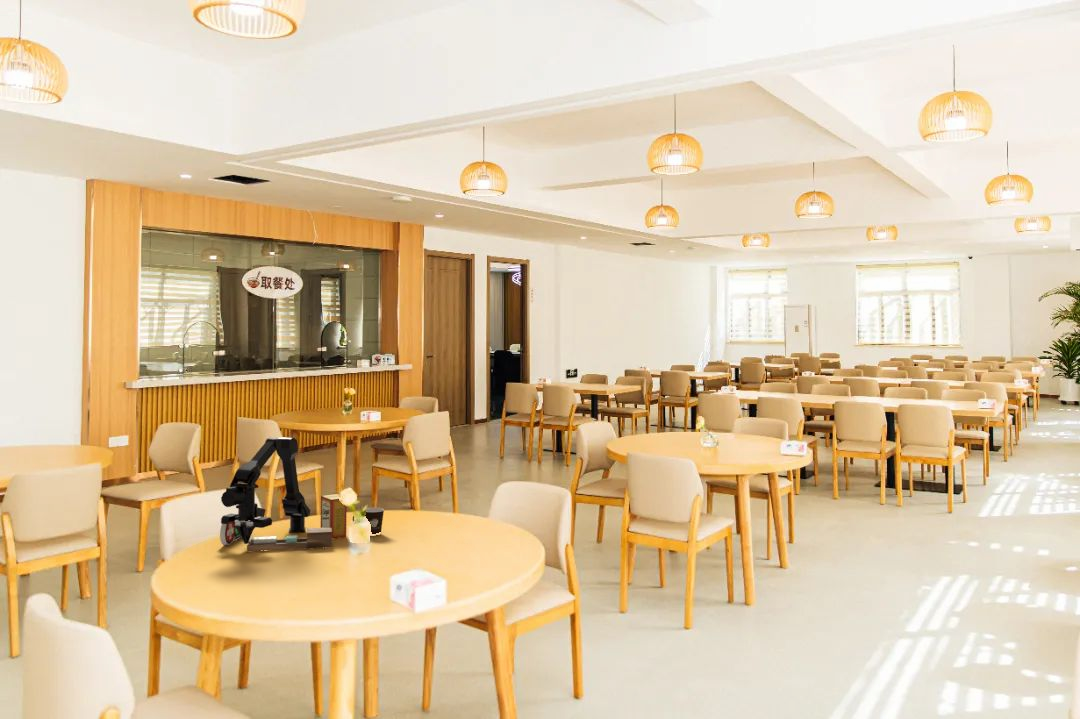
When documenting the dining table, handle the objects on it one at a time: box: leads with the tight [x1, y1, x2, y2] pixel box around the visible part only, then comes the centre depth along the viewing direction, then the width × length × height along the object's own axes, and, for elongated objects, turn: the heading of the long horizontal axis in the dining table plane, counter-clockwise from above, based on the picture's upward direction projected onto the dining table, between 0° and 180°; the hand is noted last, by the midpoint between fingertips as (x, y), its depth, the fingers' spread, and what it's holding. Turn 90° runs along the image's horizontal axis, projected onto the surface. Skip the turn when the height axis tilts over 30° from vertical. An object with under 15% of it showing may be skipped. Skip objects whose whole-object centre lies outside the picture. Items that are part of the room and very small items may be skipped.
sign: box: [219, 521, 241, 546], centre depth 302 cm, size 22×2×10 cm, turn 179°
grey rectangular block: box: [249, 535, 278, 545], centre depth 290 cm, size 4×9×4 cm, turn 106°
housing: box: [246, 527, 333, 552], centre depth 293 cm, size 7×30×6 cm, turn 106°
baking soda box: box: [320, 493, 348, 539], centre depth 312 cm, size 10×6×16 cm
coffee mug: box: [352, 507, 385, 534], centre depth 315 cm, size 12×9×10 cm
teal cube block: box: [285, 535, 299, 543], centre depth 293 cm, size 4×4×4 cm
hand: (246, 543), depth 289 cm, fingers closed
